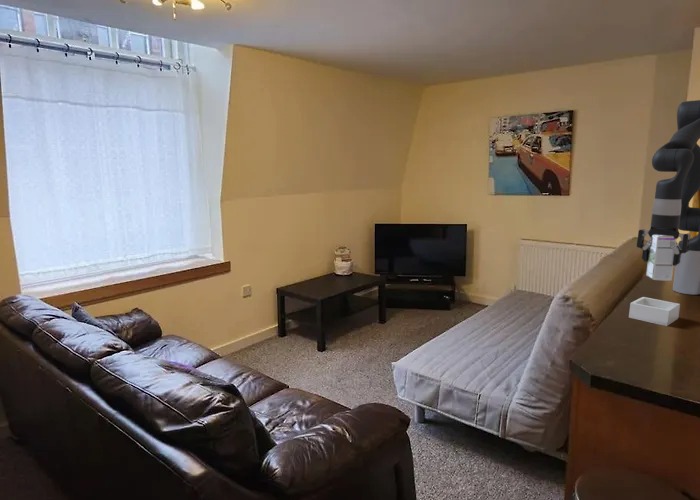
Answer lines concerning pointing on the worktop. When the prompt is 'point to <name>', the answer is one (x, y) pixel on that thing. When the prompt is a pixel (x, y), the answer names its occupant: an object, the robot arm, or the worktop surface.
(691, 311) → the worktop surface
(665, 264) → the syrup box
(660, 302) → the bin
